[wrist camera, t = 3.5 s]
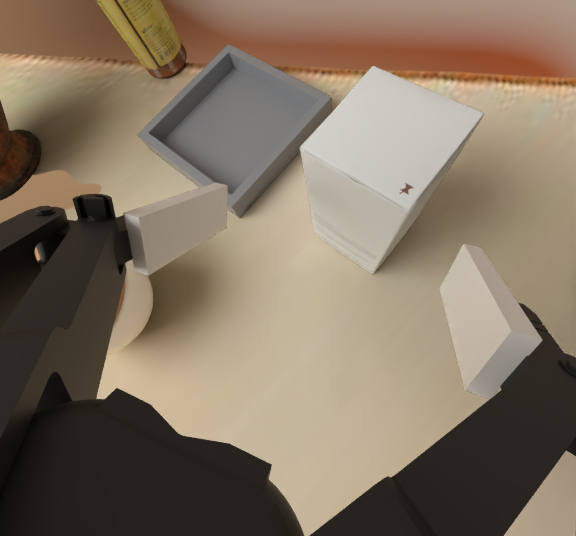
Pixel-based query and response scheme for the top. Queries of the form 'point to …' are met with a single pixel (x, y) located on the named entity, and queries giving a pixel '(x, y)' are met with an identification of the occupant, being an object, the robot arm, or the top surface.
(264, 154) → the tray
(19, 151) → the pitcher
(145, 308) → the lidded jar
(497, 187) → the top surface
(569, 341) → the top surface
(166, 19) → the sauce bottle
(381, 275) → the top surface
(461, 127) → the supplement box
